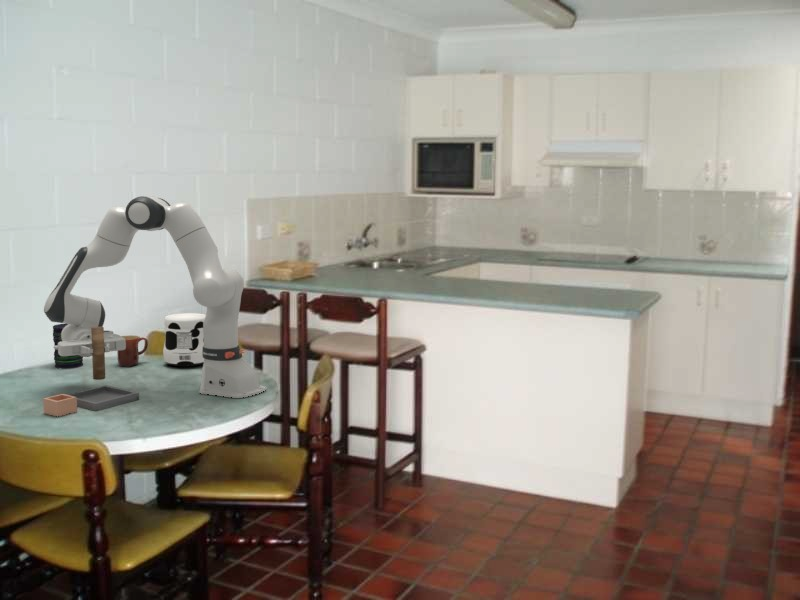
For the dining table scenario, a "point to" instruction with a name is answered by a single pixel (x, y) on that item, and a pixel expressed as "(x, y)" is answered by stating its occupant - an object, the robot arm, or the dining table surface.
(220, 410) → the dining table surface
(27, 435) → the dining table surface
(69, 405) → the pot
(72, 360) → the storage jar
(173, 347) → the milk container
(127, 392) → the tray
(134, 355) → the mug
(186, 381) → the dining table surface
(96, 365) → the dowel
